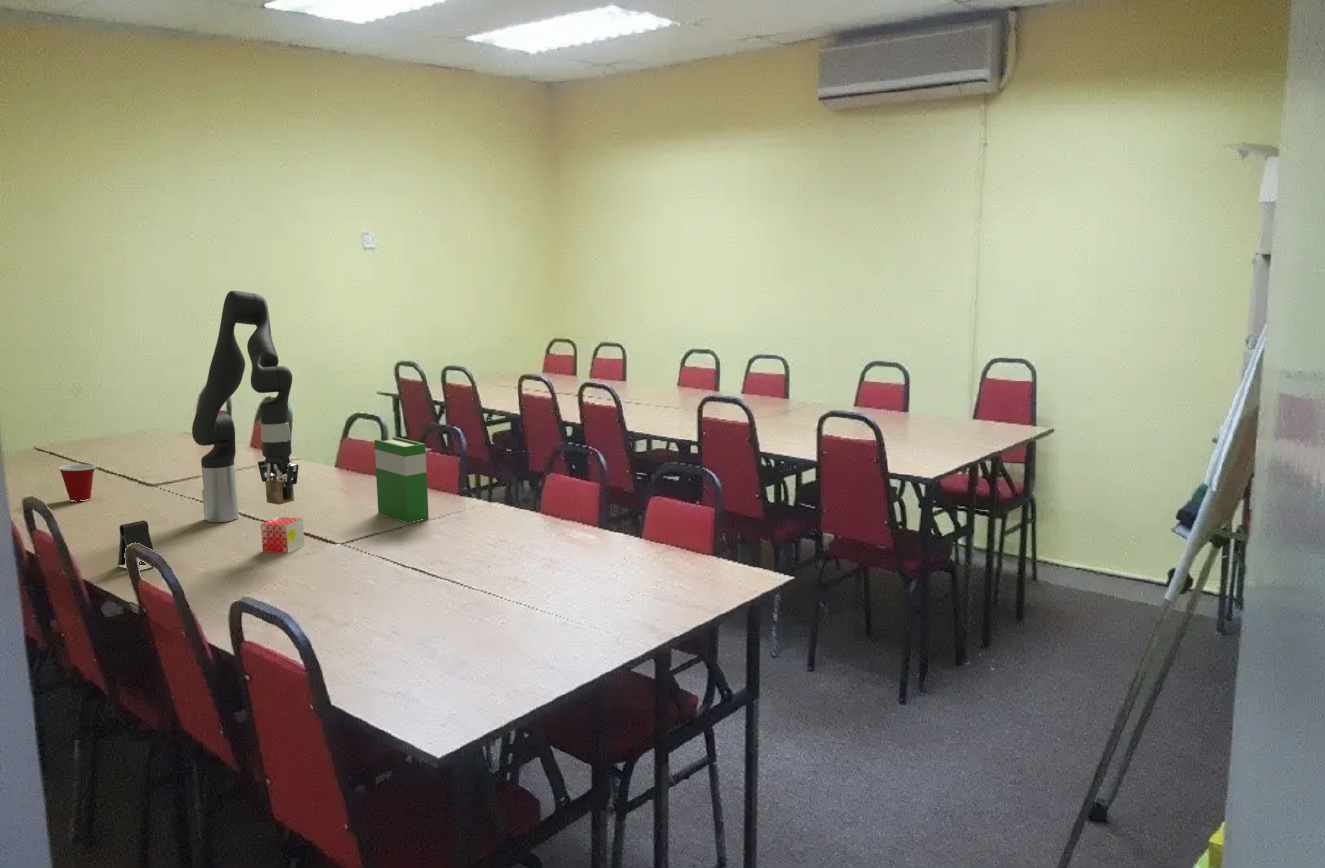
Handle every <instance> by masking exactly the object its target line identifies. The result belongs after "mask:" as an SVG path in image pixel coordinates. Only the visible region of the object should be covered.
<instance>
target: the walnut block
mask: <svg viewBox="0 0 1325 868" xmlns="http://www.w3.org/2000/svg"><path fill="white" fill-rule="evenodd" d="M285 481H286V482H287V479H286V478H285ZM264 483H265V494H266V495H265V497H266V503H268V504H273V505H283V504H286V503H291V502H294V501H295V495H294V494H295V493H294V485H292V486H291V492H292V497H291V499H290V500H284V499H283V488H282V487H283V486H282V482H281V480H279V478H278V477H277V479H274V480H271V481H266V482H264Z"/></svg>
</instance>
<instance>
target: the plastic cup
mask: <svg viewBox="0 0 1325 868" xmlns="http://www.w3.org/2000/svg"><path fill="white" fill-rule="evenodd" d="M96 468H97V466H96V465H93V464H69V465H61V466H59V467H58V469H59V471H60V474H61V477H62V480H63V483H64V487H65V490H66V493H67V494H68V499H69V500H75V501H80V500H86V499H89V498H90V499H91V497H92V489H93V488H92V487H93V482H94V481H93V477H94V472H95V469H96Z"/></svg>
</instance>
